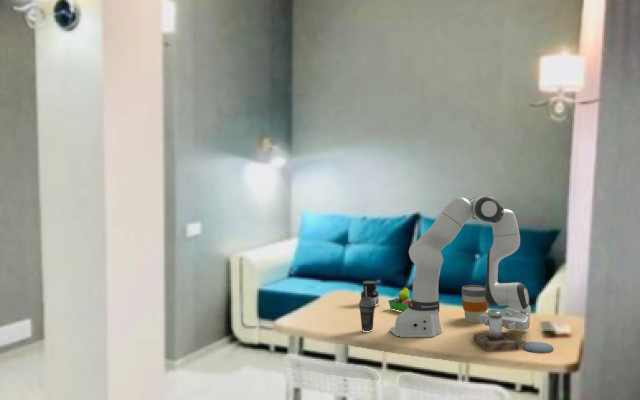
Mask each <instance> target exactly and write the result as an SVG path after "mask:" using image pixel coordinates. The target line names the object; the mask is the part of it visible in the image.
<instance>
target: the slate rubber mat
mask: <svg viewBox="0 0 640 400" xmlns="http://www.w3.org/2000/svg"><path fill="white" fill-rule="evenodd" d="M521 346H522V347H521V348H522V350H524V351H527V352H530V353H533V354H534V353H535V354H547V353H552V352H553V351H554V346H553V345H552V344H549V343H546V342H540V341H528V342H524V343H522V344H521Z"/></svg>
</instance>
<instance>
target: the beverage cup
mask: <svg viewBox="0 0 640 400" xmlns="http://www.w3.org/2000/svg"><path fill="white" fill-rule="evenodd" d="M365 293H366V297H363V298H362V299H361V298H360V300H359V304H358V307H359V313H360V323H361V331H362V330H364V331H370V330H372V329H373V328H374V318H375V317H374V316H375V310H376V309H375V308H376V307H375V302H374V300H373V299H372V298H371V297H368V296H367V291H366V286H365ZM372 331H373V330H372Z"/></svg>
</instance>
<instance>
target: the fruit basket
mask: <svg viewBox="0 0 640 400" xmlns="http://www.w3.org/2000/svg"><path fill="white" fill-rule="evenodd" d="M397 295H398V297H395V298H393V299H389V300H388V301H387V302H388V304H389V307H390V310H391V309H395V310H399V311H402V312H404V311H405V310H406V309H408V304H406V303H405V300H406V299H409V300H410V290H409V289H408V287H403V288H402V289H401V291H399V292H398V294H397Z"/></svg>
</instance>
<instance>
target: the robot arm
mask: <svg viewBox="0 0 640 400" xmlns="http://www.w3.org/2000/svg"><path fill="white" fill-rule="evenodd" d="M471 219H474V220H478V221H480V222H486V223H489V224H490V225H491V228H492V236H493V240H492V241H493V242H492V245H491V247H489V249H488V251H487V256H486V274H485V275H486V276H485V277H486V280H485V286H486V288H485V299H486V301H487V302H488V305H490V306H491V307H494V308H495V307H501V306H507V307H505V308H503V309H502V310H501V311H503V317H502V328H505V329H507V330H512V329H513V330H521V331H527V330H528V329H530V323H531V322H530V321H531V317H530V316H531V314H532V308H531V306H530V301H531V300H530V299H531V297H530V292H529V289H528V288H527V287H526V286H525V284H523V283H522V282H499V281H498V278H499V276H498V274H499V263H500V261H502V260H504V258H507V257H509V256H510V255H513V254H515V252H517V251H518V249H520V245H521V235H520V230H519V229H520V227H519V224H518V220H517V217H516V214H515V213H514V211H513V210H511V209H508V208H503V207H502V206H501V204H500V202H498V200H497V199H496V198H494V197H493V196H489V195H479V196H475V197H473V198H471V199H467V198H465V197H463V196H457V197H455V198H453V199H452V200H451V201H450V202H449V203H448V204H447V205H446V206H445V207H444V208H443V210H442V211H441V212H440V214H439V215H438V217H437V218H436V219H435V221H434V222H433V224H432V225H431V226H430V227H429V228H428V229H427V230H426V231H425V232H424V233H423V234H422V235H421V236H420V237H419V238H418V239H417V240H416V241H415V242H413V243H412V244H411V245H410V246H409V249H408V255H409V258H410V260H411V262H412V263H413V264H415V273H414V277H413V279H412V299H411V300H410V298H409V299H406V300H405V303H406V304H408V309H406V310H405V311H404V312H403V313H400V314H398V315H397V317H396V319H395V324H394V326H390V328H389V331H390V330H391V332H392V333H393V334H394V335H393V334H392V333H391V332H390V333H391V334H392V335H393V336H395V335H396V336H395V337H397V336H400V337H399V338H433V337H435V336H438V335H440V334H442V331H443V330H442V327H441V323H440V314H439V313H440V307H441V306H440V299H439V282H440V281H439V280H440V274H441V268H442V266H443V263H444V257H443V254H442V253H441V251H442V250H443V249H444V248H445V247H447V245H449V244H451V243H452V242H453V240H455V238H456V237H457V235H459V233H460V231H461V230H462V228H463V227H464V226H465V224H466V223H467V222H468V221H469V220H471ZM479 323H480V324H481V325H482V324H483V325H484V326H488V327H489V316H488V311H486V313H483V314H481V315H480V322H479Z"/></svg>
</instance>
